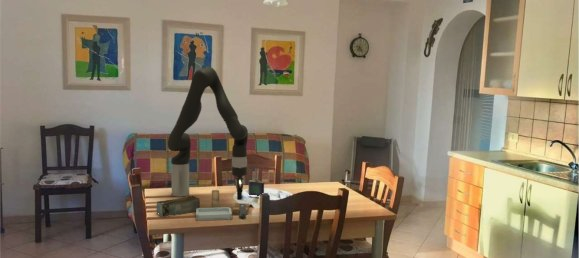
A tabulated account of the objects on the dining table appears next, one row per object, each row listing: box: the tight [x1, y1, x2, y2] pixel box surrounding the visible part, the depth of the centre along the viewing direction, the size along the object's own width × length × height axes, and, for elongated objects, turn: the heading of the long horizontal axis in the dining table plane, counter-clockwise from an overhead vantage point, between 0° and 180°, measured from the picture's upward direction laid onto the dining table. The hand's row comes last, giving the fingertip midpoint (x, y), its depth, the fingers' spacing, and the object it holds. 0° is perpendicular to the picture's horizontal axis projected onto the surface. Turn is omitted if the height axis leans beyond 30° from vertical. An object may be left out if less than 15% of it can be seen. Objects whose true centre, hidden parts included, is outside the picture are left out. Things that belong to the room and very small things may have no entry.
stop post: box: [238, 203, 247, 220], centre depth 216 cm, size 3×3×6 cm
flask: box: [247, 177, 265, 196], centre depth 251 cm, size 9×3×11 cm, turn 65°
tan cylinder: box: [211, 189, 220, 208], centre depth 229 cm, size 4×4×9 cm
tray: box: [195, 206, 233, 221], centre depth 218 cm, size 11×16×2 cm
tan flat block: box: [231, 202, 250, 216], centre depth 226 cm, size 10×7×3 cm
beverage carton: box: [156, 195, 201, 217], centre depth 223 cm, size 8×19×7 cm, turn 127°
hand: (239, 199), depth 235 cm, fingers closed
